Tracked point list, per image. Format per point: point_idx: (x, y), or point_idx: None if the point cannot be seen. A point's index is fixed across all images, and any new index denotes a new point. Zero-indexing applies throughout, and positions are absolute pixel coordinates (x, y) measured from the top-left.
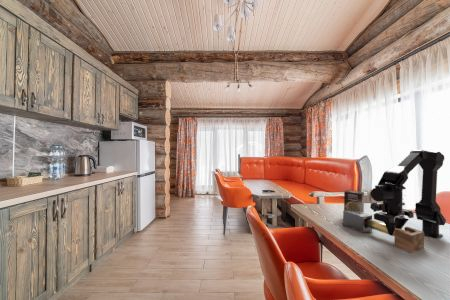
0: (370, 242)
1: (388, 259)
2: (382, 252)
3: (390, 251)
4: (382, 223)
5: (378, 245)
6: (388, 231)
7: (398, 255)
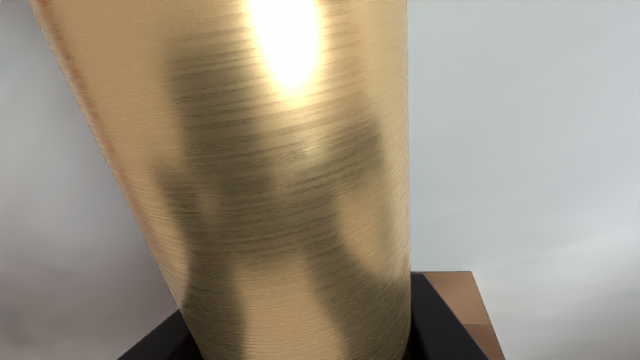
0: (25, 135)
1: (26, 344)
2: (37, 291)
3: (113, 304)
4: (202, 192)
5: (77, 211)
6: (177, 322)
7: (129, 346)
